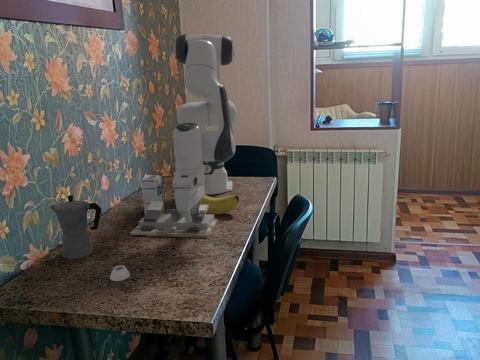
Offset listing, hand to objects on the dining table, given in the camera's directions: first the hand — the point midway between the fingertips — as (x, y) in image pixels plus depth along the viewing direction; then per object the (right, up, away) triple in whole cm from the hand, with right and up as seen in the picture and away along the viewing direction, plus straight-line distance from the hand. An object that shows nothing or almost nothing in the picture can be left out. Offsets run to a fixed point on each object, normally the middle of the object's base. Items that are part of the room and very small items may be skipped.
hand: (192, 217), depth 139 cm
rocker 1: (-14, 0, +11) cm, 18 cm away
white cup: (-16, -14, -26) cm, 33 cm away
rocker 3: (+1, 0, +8) cm, 8 cm away
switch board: (-7, -4, +8) cm, 11 cm away
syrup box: (-17, -1, +24) cm, 30 cm away
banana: (+4, -1, +22) cm, 23 cm away
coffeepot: (-32, -10, -9) cm, 35 cm away
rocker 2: (-7, 0, +9) cm, 11 cm away
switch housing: (-6, -4, +10) cm, 13 cm away
